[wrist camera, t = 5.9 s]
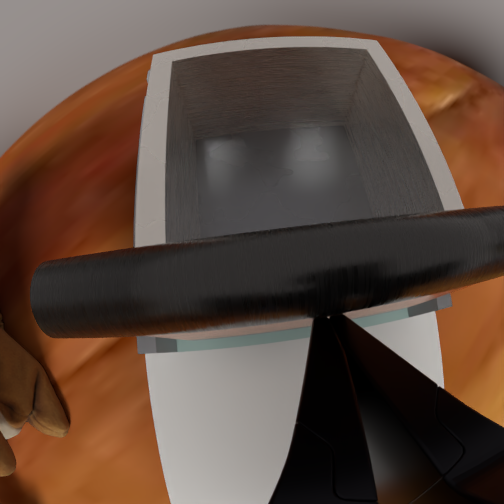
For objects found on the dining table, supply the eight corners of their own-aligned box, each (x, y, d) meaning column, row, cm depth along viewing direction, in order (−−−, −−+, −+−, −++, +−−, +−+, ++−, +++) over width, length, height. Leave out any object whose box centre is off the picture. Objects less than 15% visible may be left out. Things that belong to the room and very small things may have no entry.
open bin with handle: (393, 316, 14) (579, 247, 3) (195, 345, 14) (30, 335, 3) (348, 141, 17) (401, -22, 6) (184, 158, 17) (122, -12, 6)
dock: (437, 470, 12) (492, 502, 6) (179, 516, 12) (147, 572, 6) (368, 115, 19) (391, 53, 13) (149, 138, 19) (118, 76, 13)
